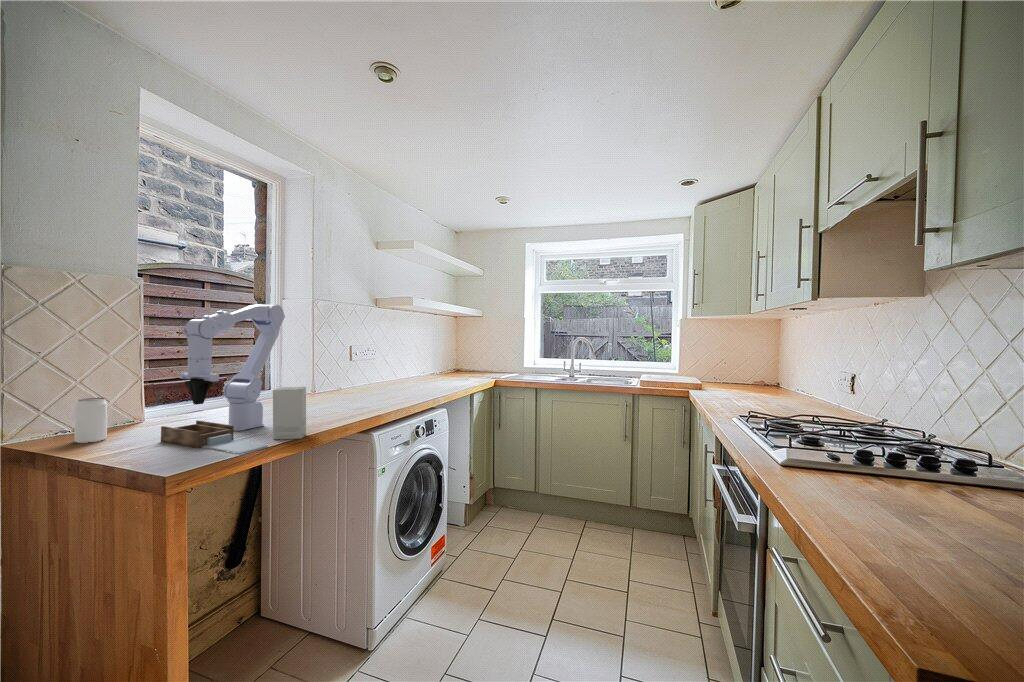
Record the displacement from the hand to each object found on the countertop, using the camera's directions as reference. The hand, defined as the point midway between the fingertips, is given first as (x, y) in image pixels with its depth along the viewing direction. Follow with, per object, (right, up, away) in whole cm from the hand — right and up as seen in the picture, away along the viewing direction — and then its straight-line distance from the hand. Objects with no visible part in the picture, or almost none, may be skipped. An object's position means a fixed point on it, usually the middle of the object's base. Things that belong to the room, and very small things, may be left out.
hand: (198, 403), depth 124 cm
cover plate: (+16, -12, -8) cm, 22 cm away
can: (-26, -10, -6) cm, 29 cm away
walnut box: (+2, -11, -3) cm, 11 cm away
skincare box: (+25, -11, +5) cm, 28 cm away
